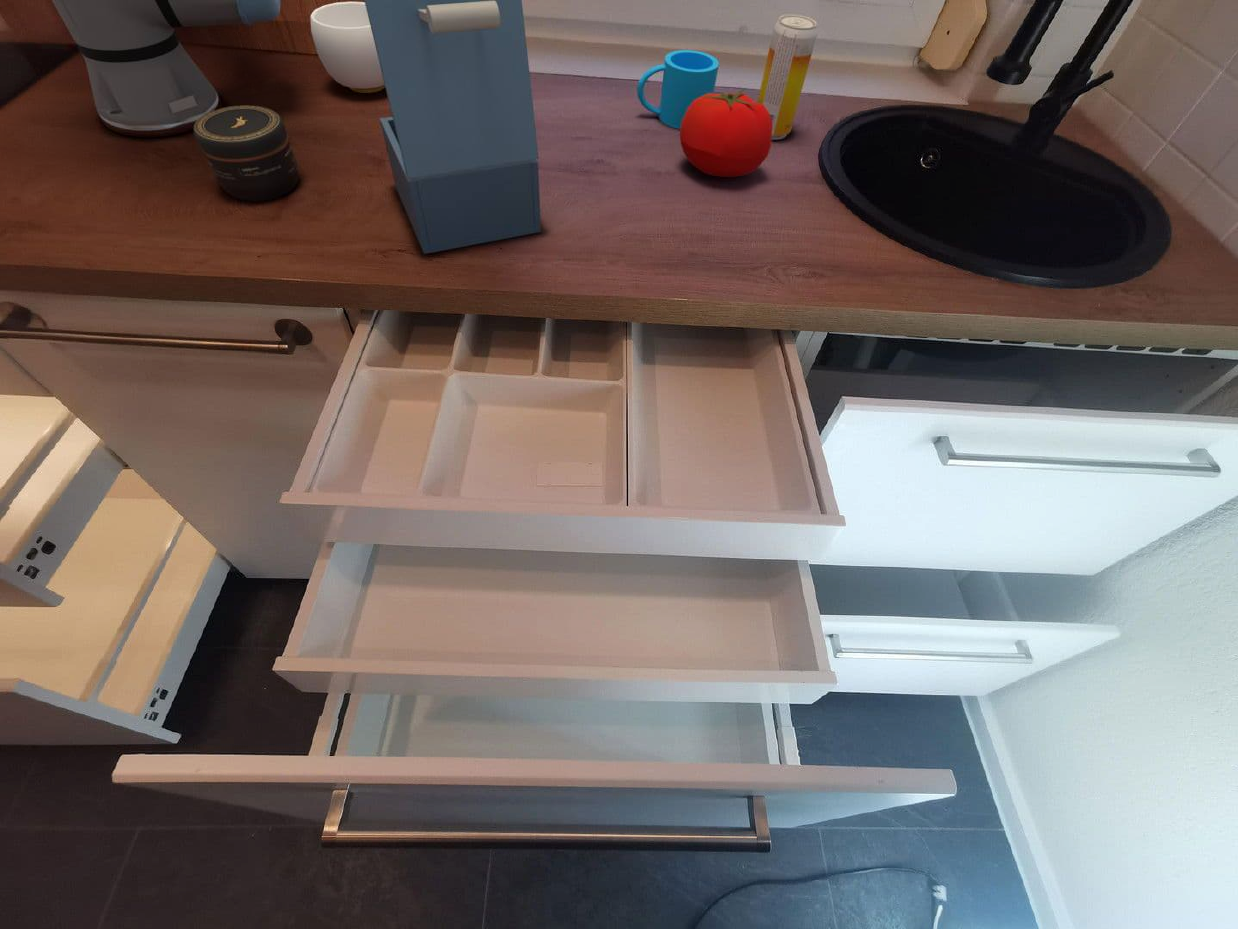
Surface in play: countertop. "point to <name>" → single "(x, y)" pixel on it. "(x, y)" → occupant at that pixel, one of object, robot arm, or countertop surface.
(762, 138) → the tomato
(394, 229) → the countertop surface
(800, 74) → the beer can
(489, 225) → the cap box
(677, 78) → the mug
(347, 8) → the cup
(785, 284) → the countertop surface
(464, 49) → the cap lid
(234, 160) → the jar
